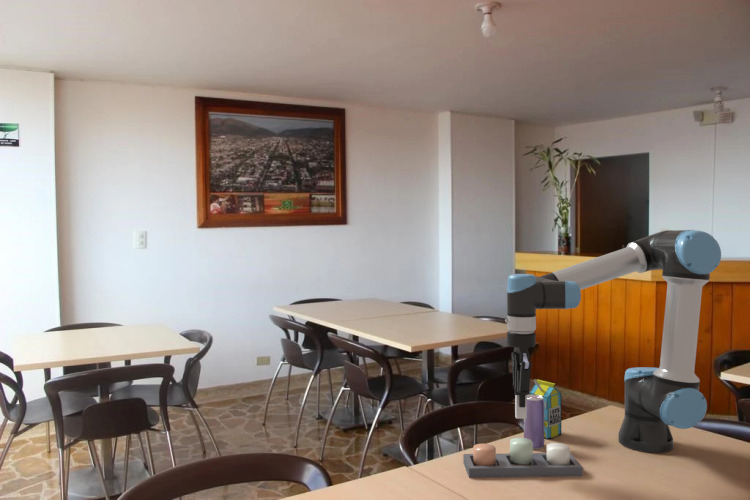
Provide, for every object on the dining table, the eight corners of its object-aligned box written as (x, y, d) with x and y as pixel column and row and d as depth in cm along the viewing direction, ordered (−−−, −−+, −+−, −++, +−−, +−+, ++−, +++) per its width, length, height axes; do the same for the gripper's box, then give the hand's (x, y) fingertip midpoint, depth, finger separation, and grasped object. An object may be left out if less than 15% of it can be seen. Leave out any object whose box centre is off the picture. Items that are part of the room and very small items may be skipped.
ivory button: (565, 460, 162) (565, 442, 162) (572, 469, 156) (572, 450, 156) (543, 460, 162) (543, 443, 162) (550, 469, 156) (550, 451, 156)
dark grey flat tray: (570, 461, 164) (570, 452, 164) (582, 476, 154) (582, 467, 154) (463, 462, 164) (463, 453, 164) (469, 477, 154) (469, 468, 154)
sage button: (529, 455, 162) (529, 437, 162) (535, 463, 156) (535, 445, 156) (507, 455, 162) (507, 437, 162) (512, 464, 156) (512, 445, 156)
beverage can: (545, 450, 173) (544, 400, 172) (524, 449, 174) (524, 399, 173) (543, 443, 179) (543, 394, 178) (523, 442, 180) (523, 393, 179)
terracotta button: (493, 461, 162) (493, 443, 162) (497, 470, 156) (497, 451, 156) (471, 461, 162) (471, 443, 162) (475, 470, 156) (475, 451, 156)
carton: (527, 434, 187) (526, 377, 186) (542, 429, 191) (542, 374, 191) (546, 440, 181) (546, 382, 180) (561, 435, 186) (561, 378, 185)
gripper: (502, 327, 165) (501, 410, 165) (512, 335, 152) (512, 425, 152) (528, 327, 165) (528, 410, 165) (541, 335, 152) (541, 425, 152)
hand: (520, 417), depth 159 cm, fingers closed
